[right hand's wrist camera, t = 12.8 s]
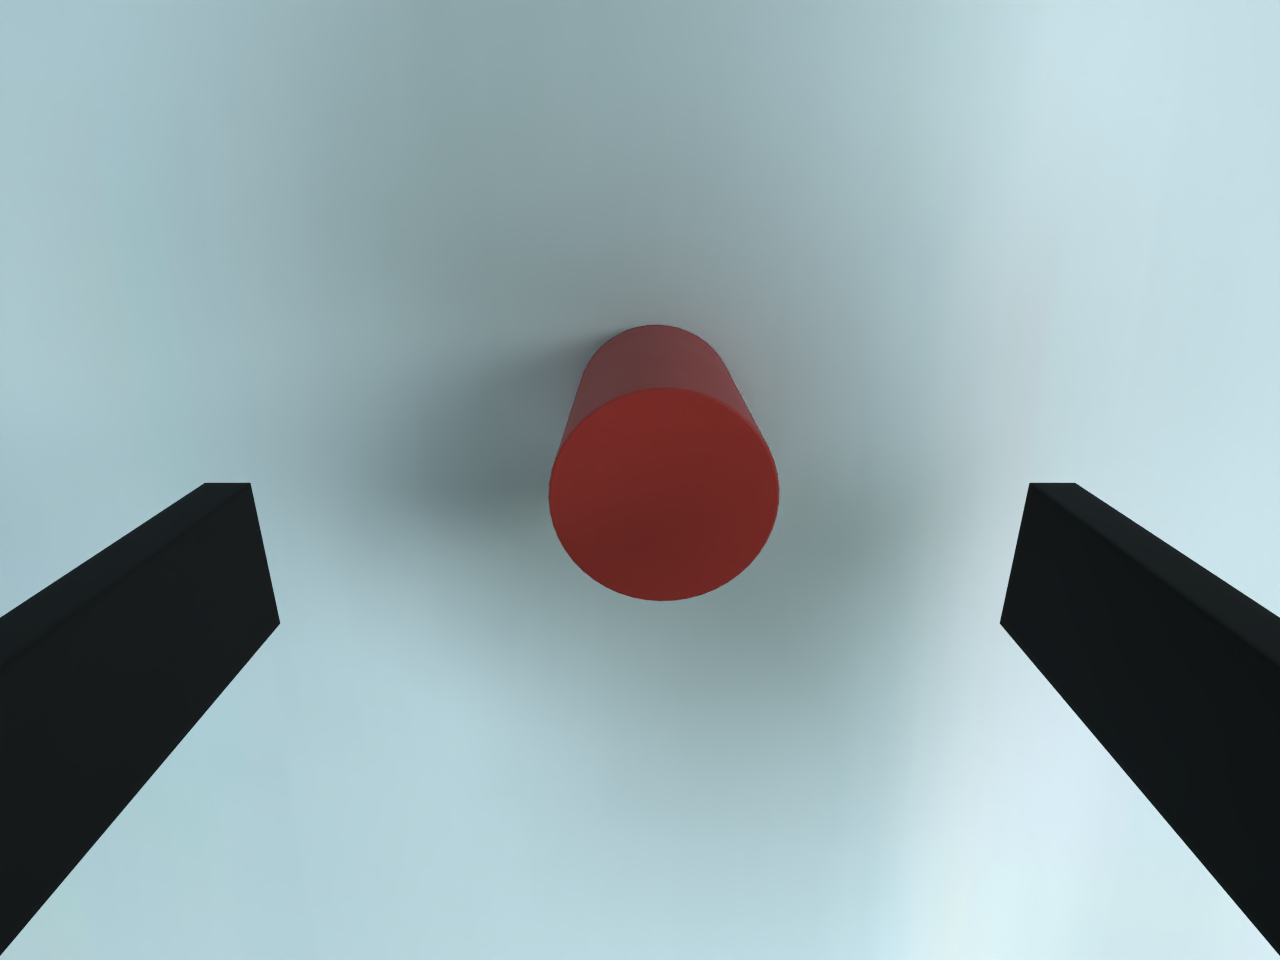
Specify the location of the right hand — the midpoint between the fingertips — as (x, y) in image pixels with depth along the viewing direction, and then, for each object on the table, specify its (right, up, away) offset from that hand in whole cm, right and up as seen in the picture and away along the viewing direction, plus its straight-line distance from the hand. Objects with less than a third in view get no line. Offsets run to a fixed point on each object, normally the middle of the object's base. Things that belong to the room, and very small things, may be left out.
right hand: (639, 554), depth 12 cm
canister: (+1, +4, +13) cm, 13 cm away
